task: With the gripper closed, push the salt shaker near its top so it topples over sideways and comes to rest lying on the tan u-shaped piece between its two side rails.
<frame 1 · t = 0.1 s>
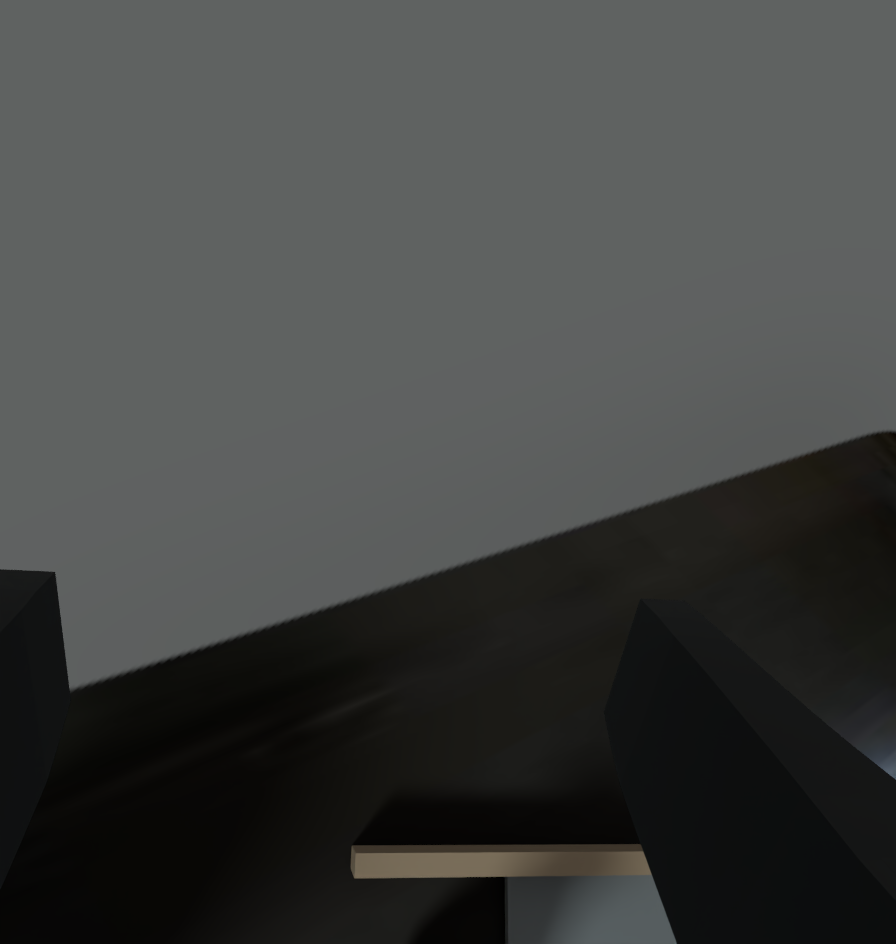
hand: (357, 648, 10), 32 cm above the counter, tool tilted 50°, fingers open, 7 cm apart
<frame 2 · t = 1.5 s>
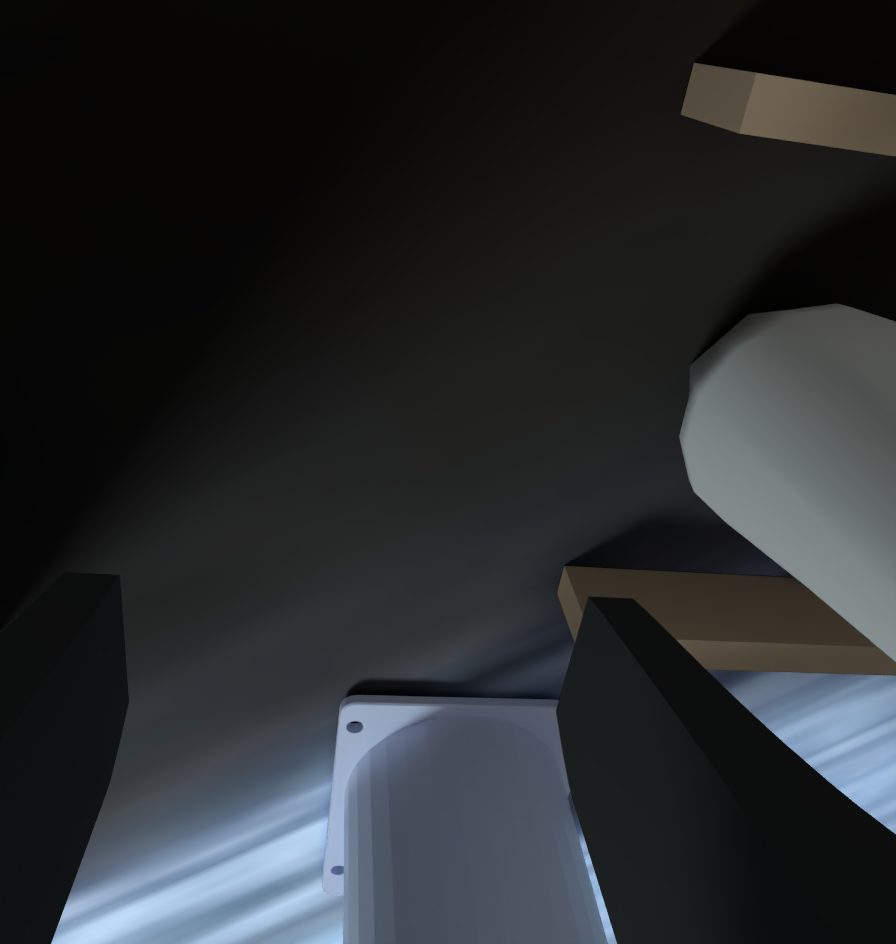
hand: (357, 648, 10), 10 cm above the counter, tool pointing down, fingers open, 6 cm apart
salt shaker: (757, 383, 21), on the counter
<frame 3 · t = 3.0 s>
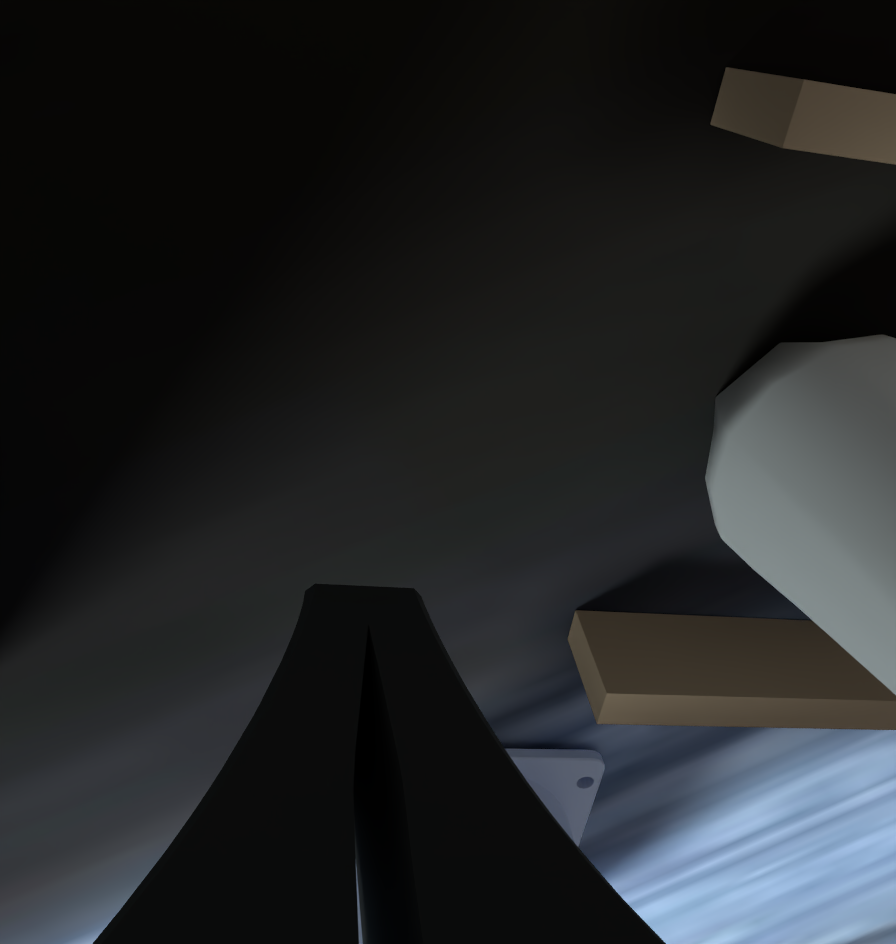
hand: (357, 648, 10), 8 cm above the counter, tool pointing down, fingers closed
salt shaker: (787, 415, 19), on the counter
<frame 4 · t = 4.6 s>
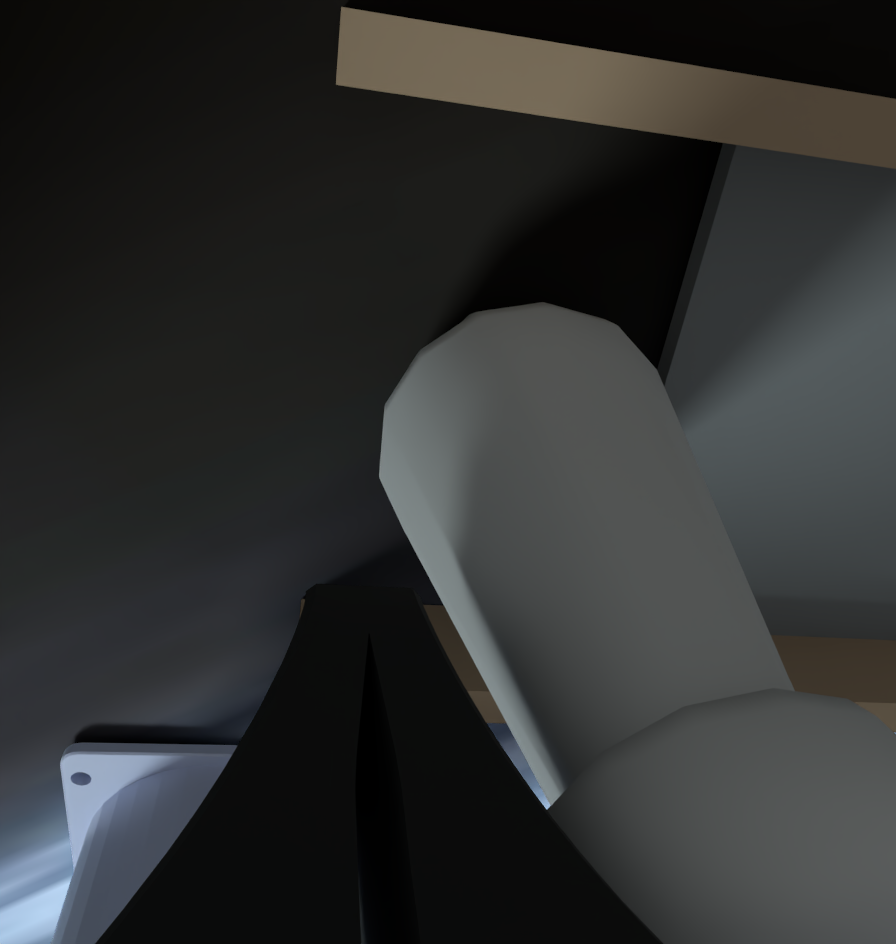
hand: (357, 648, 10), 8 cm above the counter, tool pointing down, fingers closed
tan u-shaped piece: (765, 419, 19), on the counter
salt shaker: (496, 393, 18), on the counter
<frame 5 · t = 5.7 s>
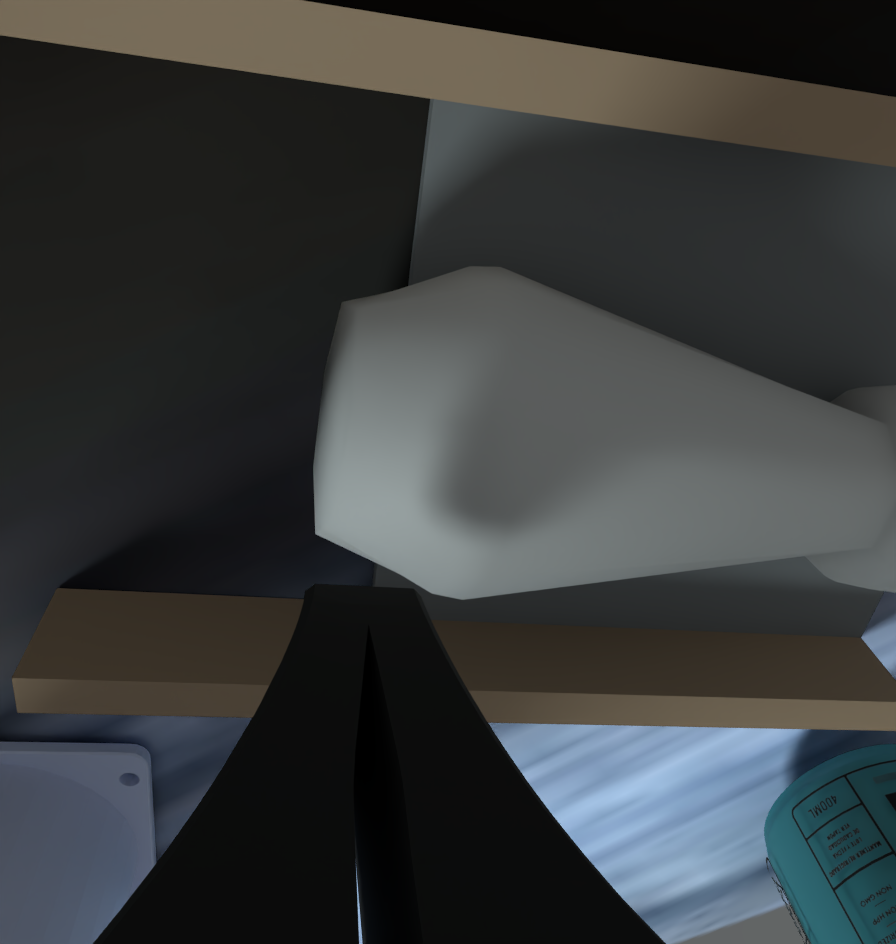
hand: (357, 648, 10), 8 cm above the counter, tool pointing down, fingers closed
tan u-shaped piece: (528, 397, 18), on the counter
beverage bottle: (830, 764, 26), on the counter
salt shaker: (320, 414, 14), point 4 cm above the counter, touching tan u-shaped piece
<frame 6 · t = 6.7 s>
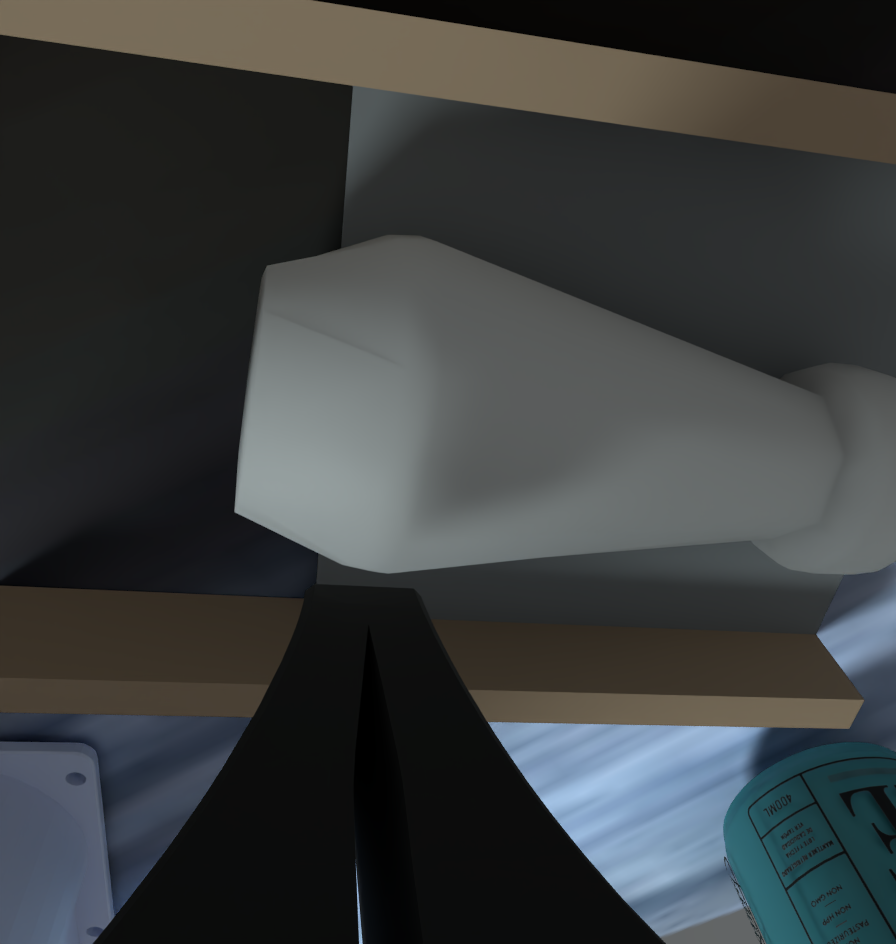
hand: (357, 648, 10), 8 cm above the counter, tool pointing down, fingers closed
tan u-shaped piece: (467, 391, 18), on the counter
beverage bottle: (792, 763, 26), on the counter
salt shaker: (237, 384, 13), point 4 cm above the counter, touching tan u-shaped piece
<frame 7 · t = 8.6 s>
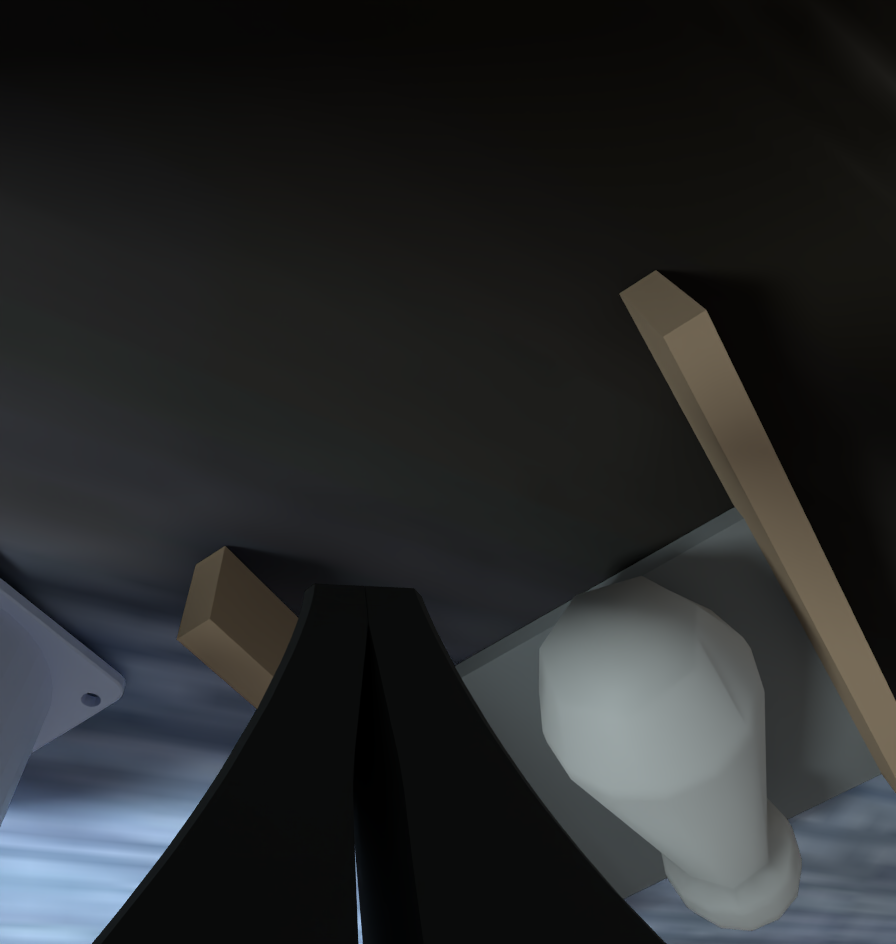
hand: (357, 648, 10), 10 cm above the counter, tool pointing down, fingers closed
tan u-shaped piece: (598, 669, 25), on the counter
salt shaker: (615, 636, 20), point 4 cm above the counter, touching tan u-shaped piece
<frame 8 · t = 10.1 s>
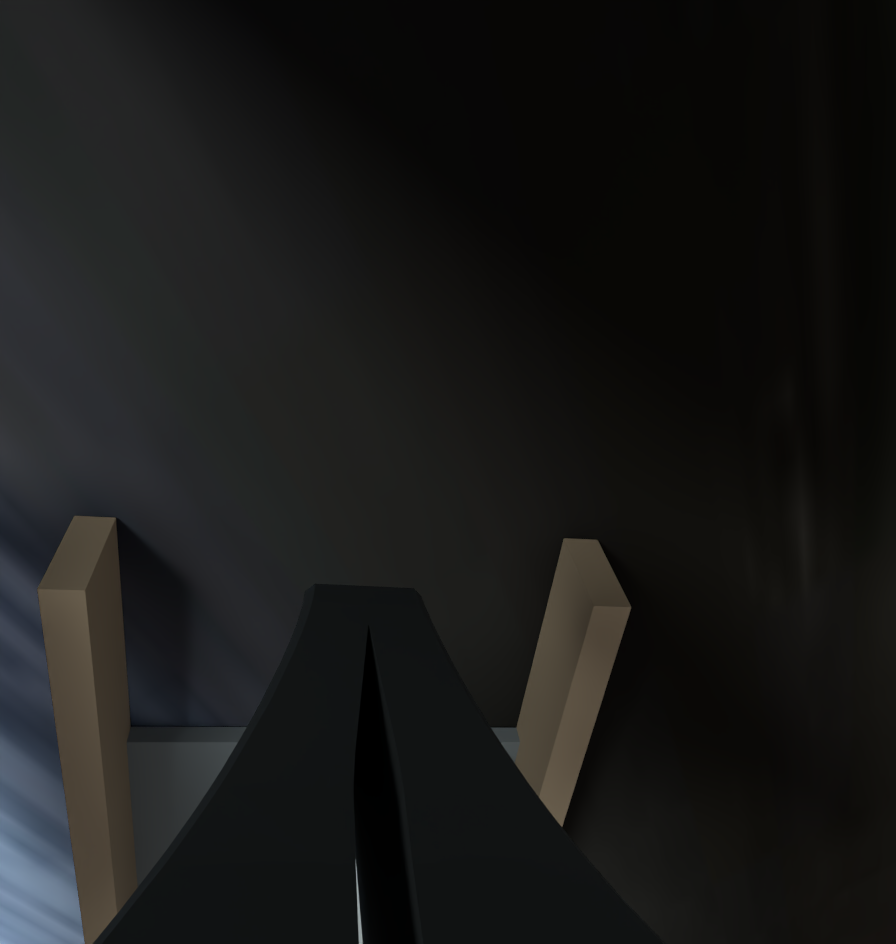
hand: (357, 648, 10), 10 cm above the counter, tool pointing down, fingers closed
tan u-shaped piece: (325, 791, 27), on the counter
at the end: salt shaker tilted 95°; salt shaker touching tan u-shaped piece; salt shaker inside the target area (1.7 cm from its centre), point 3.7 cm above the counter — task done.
